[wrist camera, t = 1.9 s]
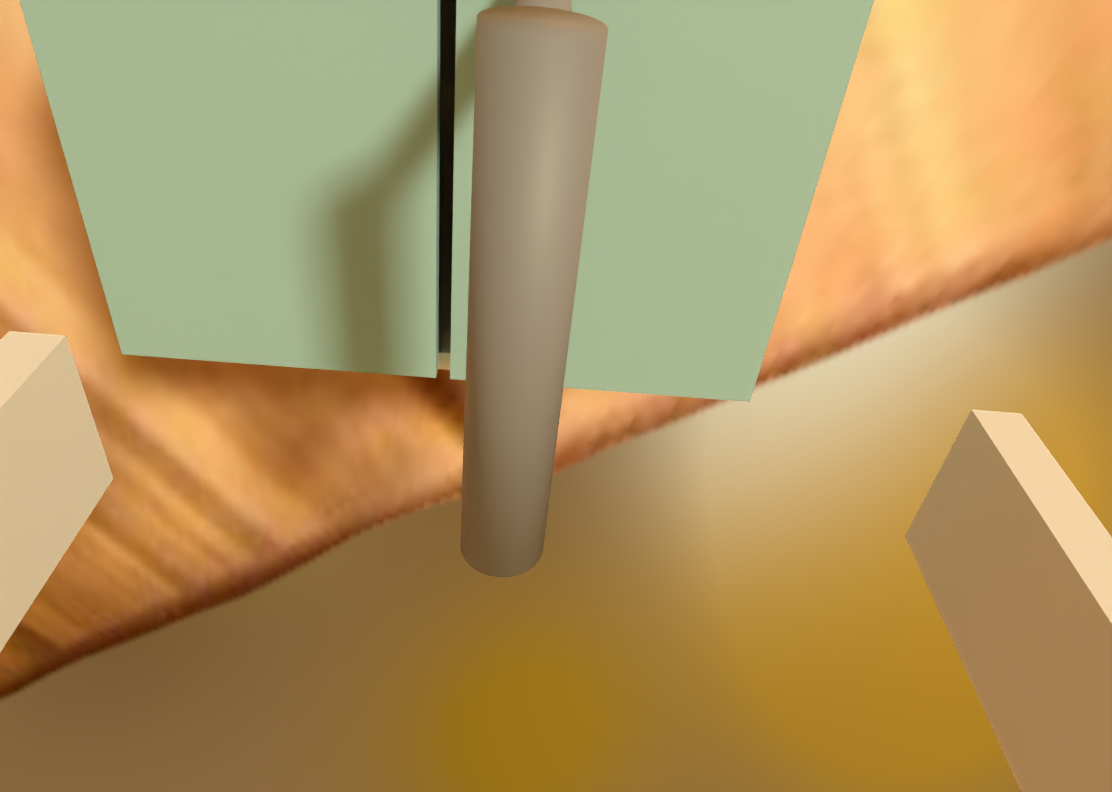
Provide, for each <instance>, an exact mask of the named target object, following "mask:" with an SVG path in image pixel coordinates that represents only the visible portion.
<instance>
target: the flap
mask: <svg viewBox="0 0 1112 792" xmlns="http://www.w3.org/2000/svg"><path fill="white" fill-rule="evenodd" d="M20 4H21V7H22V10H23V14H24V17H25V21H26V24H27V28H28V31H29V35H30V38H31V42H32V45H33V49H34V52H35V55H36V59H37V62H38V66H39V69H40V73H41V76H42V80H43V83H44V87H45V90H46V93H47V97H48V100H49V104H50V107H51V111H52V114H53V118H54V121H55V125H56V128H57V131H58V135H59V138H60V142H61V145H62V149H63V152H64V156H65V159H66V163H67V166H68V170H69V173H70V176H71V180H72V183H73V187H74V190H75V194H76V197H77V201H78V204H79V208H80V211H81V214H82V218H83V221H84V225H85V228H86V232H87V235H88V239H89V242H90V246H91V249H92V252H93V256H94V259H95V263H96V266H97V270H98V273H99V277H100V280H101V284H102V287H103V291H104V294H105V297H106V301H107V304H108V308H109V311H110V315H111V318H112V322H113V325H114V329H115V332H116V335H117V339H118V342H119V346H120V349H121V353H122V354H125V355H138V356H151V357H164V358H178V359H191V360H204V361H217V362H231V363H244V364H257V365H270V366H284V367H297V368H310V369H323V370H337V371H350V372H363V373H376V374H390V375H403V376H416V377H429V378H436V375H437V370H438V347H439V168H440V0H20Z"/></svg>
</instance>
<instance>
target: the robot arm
mask: <svg viewBox="0 0 1112 792" xmlns="http://www.w3.org/2000/svg"><path fill="white" fill-rule="evenodd" d="M112 480H113V476H112V473H111V470H110V467H109V464H108V461H107V458H106V455H105V452H104V449H103V446H102V443H101V440H100V437H99V434H98V431H97V428H96V425H95V422H94V419H93V416H92V413H91V410H90V407H89V404H88V401H87V398H86V395H85V392H84V389H83V386H82V383H81V380H80V377H79V374H78V371H77V368H76V365H75V362H74V359H73V356H72V353H71V350H70V347H69V344H68V341H67V338H66V336H64V335H51V334H39V333H27V332H15V331H9V332H8V333H7V334H6V335H5V336H4V337H3V338H2V339H1V340H0V652H1V650H2V649H3V647H4V646H5V644H6V643H7V641H8V640H9V638H10V637H11V635H12V634H13V632H14V630H15V629H16V627H17V626H18V624H19V623H20V621H21V620H22V618H23V617H24V615H25V614H26V612H27V610H28V609H29V607H30V606H31V604H32V603H33V601H34V600H35V598H36V597H37V595H38V594H39V592H40V590H41V589H42V587H43V586H44V584H45V583H46V581H47V580H48V578H49V577H50V575H51V574H52V572H53V571H54V569H55V567H56V566H57V564H58V563H59V561H60V560H61V558H62V557H63V555H64V554H65V552H66V551H67V549H68V547H69V546H70V544H71V543H72V541H73V540H74V538H75V537H76V535H77V534H78V532H79V531H80V529H81V527H82V526H83V524H84V523H85V521H86V520H87V518H88V517H89V515H90V514H91V512H92V511H93V509H94V507H95V506H96V504H97V503H98V501H99V500H100V498H101V497H102V495H103V494H104V492H105V491H106V489H107V487H108V486H109V484H110V483H111V481H112ZM905 537H906V539H907V541H908V544H909V546H910V548H911V550H912V552H913V555H914V557H915V559H916V561H917V563H918V566H919V568H920V570H921V572H922V574H923V576H924V579H925V581H926V583H927V586H928V588H929V590H930V592H931V594H932V597H933V599H934V601H935V603H936V605H937V607H938V610H939V612H940V614H941V616H942V619H943V621H944V623H945V625H946V627H947V630H948V632H949V634H950V636H951V638H952V641H953V642H954V645H955V647H956V649H957V651H958V654H959V656H960V658H961V660H962V663H963V665H964V667H965V669H966V671H967V674H968V676H969V678H970V680H971V682H972V685H973V687H974V689H975V691H976V693H977V696H978V698H979V700H980V702H981V704H982V707H983V709H984V711H985V713H986V715H987V718H988V720H989V722H990V724H991V726H992V729H993V731H994V733H995V735H996V737H997V740H998V742H999V744H1000V746H1001V748H1002V751H1003V753H1004V755H1005V757H1006V759H1007V762H1008V764H1009V766H1010V768H1011V770H1012V773H1013V775H1014V777H1015V779H1016V781H1017V783H1018V786H1019V788H1020V790H1021V792H1112V537H1111V536H1110V534H1109V533H1108V532H1107V530H1106V529H1105V528H1104V526H1103V525H1102V523H1101V522H1100V521H1099V519H1098V518H1097V517H1096V515H1095V514H1094V512H1093V511H1092V510H1091V508H1090V507H1089V506H1088V504H1087V503H1086V502H1085V500H1084V499H1083V497H1082V496H1081V495H1080V493H1079V492H1078V490H1077V489H1076V488H1075V486H1074V485H1073V484H1072V482H1071V481H1070V480H1069V478H1068V477H1067V476H1066V474H1065V473H1064V471H1063V470H1062V469H1061V467H1060V466H1059V464H1058V463H1057V462H1056V460H1055V459H1054V458H1053V456H1052V455H1051V453H1050V452H1049V451H1048V449H1047V448H1046V447H1045V445H1044V444H1043V443H1042V441H1041V440H1040V438H1039V437H1038V436H1037V434H1036V433H1035V431H1034V430H1033V429H1032V427H1031V426H1030V425H1029V423H1028V422H1027V420H1026V419H1025V418H1024V416H1023V415H1022V414H1021V413H1009V412H997V411H984V410H971V412H970V414H969V416H968V418H967V419H966V421H965V423H964V425H963V427H962V429H961V431H960V433H959V435H958V437H957V438H956V441H955V442H954V444H953V446H952V448H951V450H950V452H949V454H948V456H947V457H946V459H945V461H944V463H943V465H942V467H941V469H940V471H939V473H938V475H937V476H936V478H935V480H934V482H933V484H932V486H931V488H930V490H929V492H928V494H927V496H926V497H925V499H924V501H923V503H922V505H921V507H920V509H919V511H918V513H917V514H916V516H915V518H914V520H913V522H912V524H911V526H910V528H909V530H908V532H907V534H906V535H905Z"/></svg>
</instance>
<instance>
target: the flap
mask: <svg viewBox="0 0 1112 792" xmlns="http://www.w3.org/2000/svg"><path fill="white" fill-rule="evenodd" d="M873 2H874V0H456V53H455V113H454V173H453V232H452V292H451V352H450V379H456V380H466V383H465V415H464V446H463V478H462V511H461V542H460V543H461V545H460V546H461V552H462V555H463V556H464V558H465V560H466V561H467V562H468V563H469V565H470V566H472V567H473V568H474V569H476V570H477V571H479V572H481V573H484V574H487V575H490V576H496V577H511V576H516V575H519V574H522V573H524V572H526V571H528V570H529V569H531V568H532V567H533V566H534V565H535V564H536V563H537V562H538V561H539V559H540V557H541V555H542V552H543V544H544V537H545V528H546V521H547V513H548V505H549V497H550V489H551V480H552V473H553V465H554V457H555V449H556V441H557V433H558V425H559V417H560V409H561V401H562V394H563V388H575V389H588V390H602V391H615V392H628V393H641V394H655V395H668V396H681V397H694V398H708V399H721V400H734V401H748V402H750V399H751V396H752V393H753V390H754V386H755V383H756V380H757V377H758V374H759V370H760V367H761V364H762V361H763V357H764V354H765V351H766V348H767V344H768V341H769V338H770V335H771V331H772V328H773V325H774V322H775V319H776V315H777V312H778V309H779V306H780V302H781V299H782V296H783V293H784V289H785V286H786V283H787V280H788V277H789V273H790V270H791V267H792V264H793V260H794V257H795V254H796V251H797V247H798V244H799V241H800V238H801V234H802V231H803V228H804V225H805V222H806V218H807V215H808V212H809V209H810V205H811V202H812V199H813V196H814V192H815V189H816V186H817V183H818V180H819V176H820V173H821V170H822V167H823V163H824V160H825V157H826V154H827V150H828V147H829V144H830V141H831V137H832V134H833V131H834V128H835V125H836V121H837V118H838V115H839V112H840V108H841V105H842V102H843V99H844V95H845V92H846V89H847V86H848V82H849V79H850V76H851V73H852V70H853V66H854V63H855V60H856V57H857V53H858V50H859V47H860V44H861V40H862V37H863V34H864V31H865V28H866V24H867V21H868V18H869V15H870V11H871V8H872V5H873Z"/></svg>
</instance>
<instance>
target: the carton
mask: <svg viewBox="0 0 1112 792" xmlns="http://www.w3.org/2000/svg"><path fill="white" fill-rule="evenodd" d="M455 53H456V0H440V168H439V347H438V369H441V370H450V352H451V292H452V232H453V173H454V113H455Z"/></svg>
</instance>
